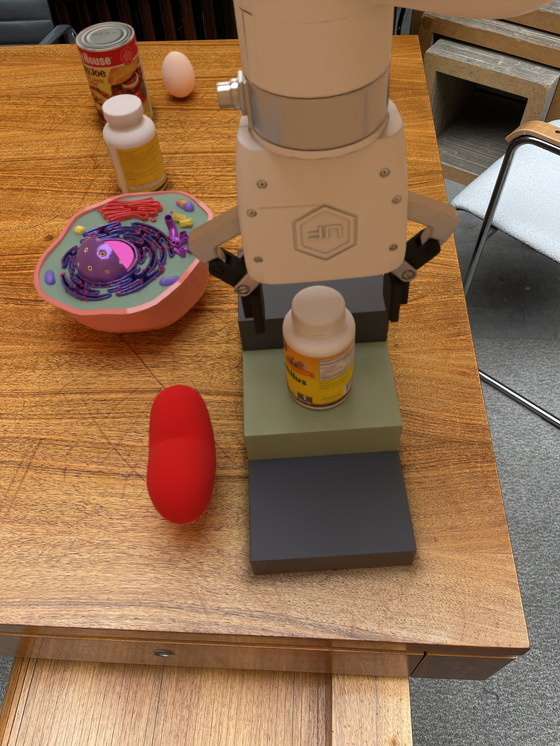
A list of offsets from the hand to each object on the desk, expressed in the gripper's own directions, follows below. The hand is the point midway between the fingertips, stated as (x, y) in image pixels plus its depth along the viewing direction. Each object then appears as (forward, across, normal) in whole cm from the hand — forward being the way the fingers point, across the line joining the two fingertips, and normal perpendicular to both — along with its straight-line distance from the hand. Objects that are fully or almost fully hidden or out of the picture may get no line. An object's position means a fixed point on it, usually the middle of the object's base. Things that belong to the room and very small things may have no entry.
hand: (325, 314), depth 47 cm
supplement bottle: (+9, -1, 0) cm, 9 cm away
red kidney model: (+16, -13, -5) cm, 21 cm away
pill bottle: (+16, -21, +40) cm, 48 cm away
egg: (+16, -17, +62) cm, 66 cm away
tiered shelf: (+16, -1, 0) cm, 16 cm away
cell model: (+16, -19, +19) cm, 31 cm away
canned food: (+16, -25, +57) cm, 64 cm away
